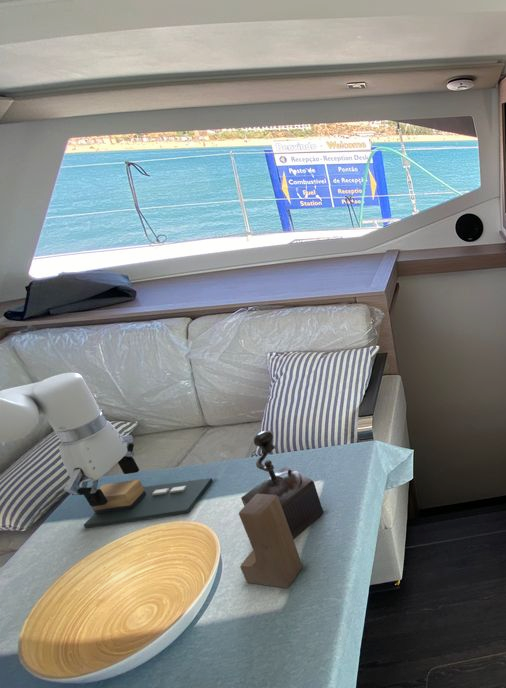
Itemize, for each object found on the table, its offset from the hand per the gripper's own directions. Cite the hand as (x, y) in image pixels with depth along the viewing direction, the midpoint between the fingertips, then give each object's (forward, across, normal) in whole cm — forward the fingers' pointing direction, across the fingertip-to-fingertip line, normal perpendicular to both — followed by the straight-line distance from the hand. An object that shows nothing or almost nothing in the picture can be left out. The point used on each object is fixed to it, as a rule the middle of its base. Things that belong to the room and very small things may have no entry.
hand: (116, 487), depth 96 cm
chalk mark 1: (+5, -2, +7) cm, 9 cm away
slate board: (+6, 0, +6) cm, 8 cm away
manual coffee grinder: (+6, +10, +40) cm, 42 cm away
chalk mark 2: (+5, -2, +11) cm, 12 cm away
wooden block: (+6, +25, +44) cm, 51 cm away
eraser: (+4, 0, 0) cm, 5 cm away
